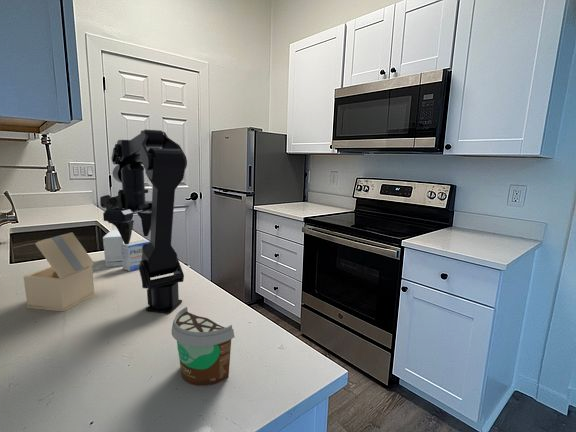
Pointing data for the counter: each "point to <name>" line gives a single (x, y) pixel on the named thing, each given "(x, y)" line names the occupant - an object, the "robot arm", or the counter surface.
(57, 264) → the carton lid
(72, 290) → the carton
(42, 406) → the counter surface
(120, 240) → the skincare box
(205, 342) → the food container
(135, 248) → the medicine box
